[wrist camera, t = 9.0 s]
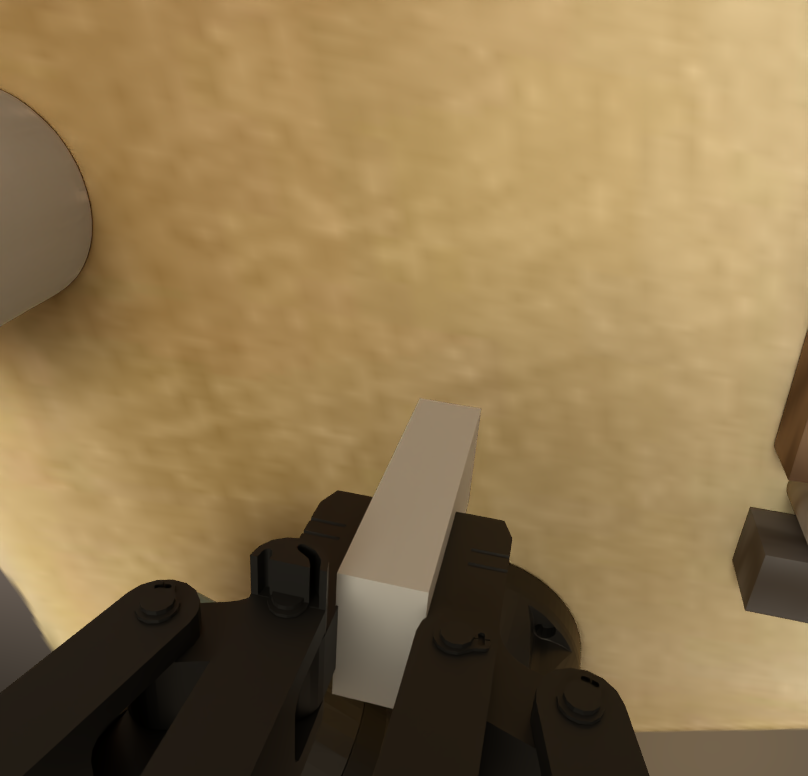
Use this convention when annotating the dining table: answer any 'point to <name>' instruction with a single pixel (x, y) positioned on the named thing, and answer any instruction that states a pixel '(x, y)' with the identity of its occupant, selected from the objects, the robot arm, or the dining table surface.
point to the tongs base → (775, 559)
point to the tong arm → (795, 425)
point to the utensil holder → (37, 211)
